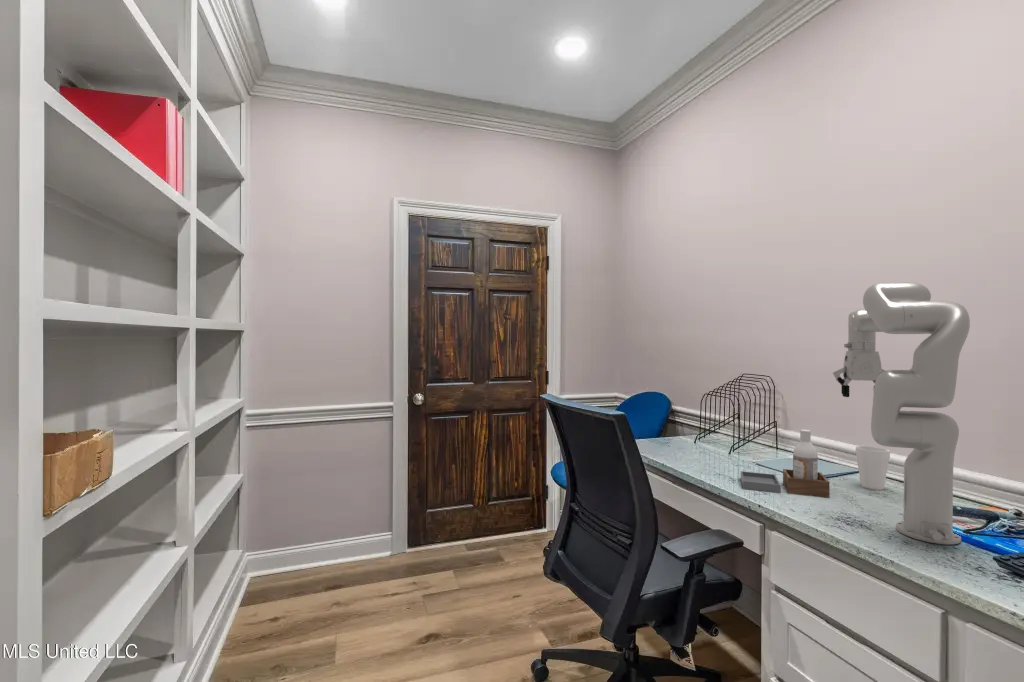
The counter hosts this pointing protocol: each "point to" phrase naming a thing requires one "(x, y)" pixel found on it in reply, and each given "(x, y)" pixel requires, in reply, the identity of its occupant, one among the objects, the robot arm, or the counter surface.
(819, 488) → the small wooden crate
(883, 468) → the foam cup
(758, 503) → the counter surface
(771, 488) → the tray
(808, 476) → the bath foam
